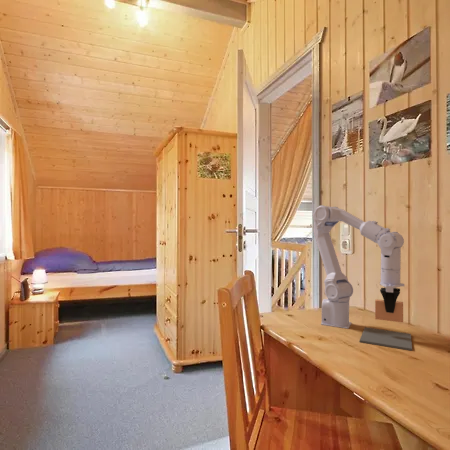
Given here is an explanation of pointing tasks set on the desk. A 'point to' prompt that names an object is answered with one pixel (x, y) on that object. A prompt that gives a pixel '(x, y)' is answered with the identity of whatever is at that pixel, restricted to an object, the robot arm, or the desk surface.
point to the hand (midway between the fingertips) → (390, 311)
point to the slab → (383, 315)
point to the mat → (387, 338)
